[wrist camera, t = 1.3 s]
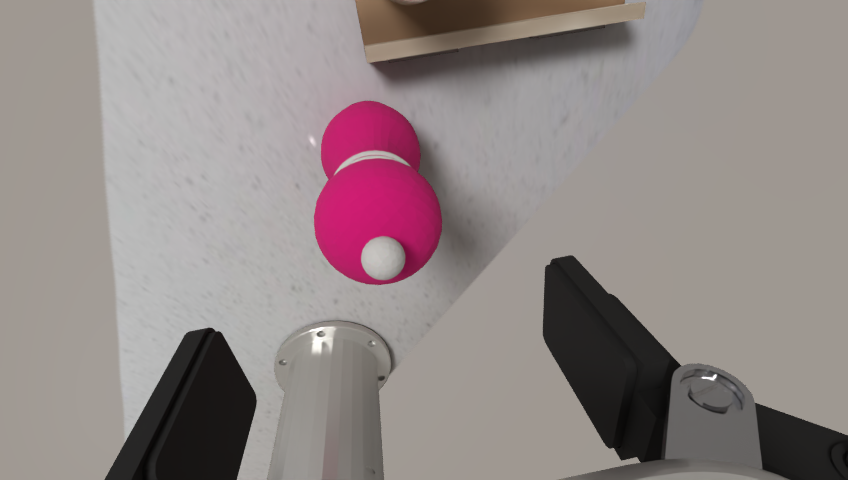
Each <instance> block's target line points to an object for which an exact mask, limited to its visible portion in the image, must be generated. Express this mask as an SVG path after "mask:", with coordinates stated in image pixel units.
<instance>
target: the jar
mask: <svg viewBox="0 0 848 480" xmlns="http://www.w3.org/2000/svg"><path fill="white" fill-rule="evenodd" d="M390 1H392V2H394V3H397V4H401V5H416V4H420V3H423V2H425V1H427V0H390Z"/></svg>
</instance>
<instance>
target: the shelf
mask: <svg viewBox="0 0 848 480" xmlns="http://www.w3.org/2000/svg"><path fill="white" fill-rule="evenodd" d="M355 2H356V7H357V12H358V17H359V23H360V28H361V33H362V38H363V43H364V49H365V54H366V59H367V62H368V63H371V62H377V61H383V60H387V61H388V62H389V63H391V62H397V61H403V60H409V59H415V58H422V57H428V56H434V55H440V54H446V53H452V52H458V48H463V47H470V46H476V45H482V44H488V43H494V42H500V41H507V40H513V39H519V38H525V37H530V38H544V37H551V36H557V35H563V34H569V33H575V32H581V31H587V30H594V29H600V28H605V24H611V23H618V22H624V21H630V20H636V19H642V18H644V14H645V6H646V2H640V3H630V4H624V3H625V0H427V1H425V2H423V3H420V4H416V5H401V4H397V3H394V2H392V1H390V0H355Z"/></svg>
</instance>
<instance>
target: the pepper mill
mask: <svg viewBox="0 0 848 480" xmlns="http://www.w3.org/2000/svg"><path fill="white" fill-rule="evenodd" d="M420 156H421V155H420V147H419V142H418V139H417V135H416V133H415V131H414V129H413V127H412V126H411V124H410V123H409V121H408V120H407V119H406V118H405V117H404V116H403V115H402V114H400V113H399V112H398V111H396V110H394V109H393V108H391V107H388V106H386V105H384V104H382V103H379V102H375V101H362V102H358V103H355V104H352V105H350V106H349V107H347V108H346V109H344V110H342V111H341V112H340V113H339V114H337V115H336V116H335V117H334V118H333V119H332V120H331V122H330V123H329V125H328V126H327V128H326V130H325V133H324V135H323V139H322V144H321V160H322V165H323V168H324V171H325V174H326V176H327V177H328V179H329V180H328V181H327V183H326V185H325V186H324V188H323V190H322V192H321V193H320V195H319V198H318V200H317V203H316V209H315V214H314V227H315V235H316V239H317V242H318V245H319V248H320V249H321V251H322V253H323V255H324V256H325V257H326V259H327V260H328V262H329V263H330V264H331V265H332V266H333V267H334V268H335V269H336V270H338V271H339V272H341V273H342V274H344V275H345V276H347V277H348V278H351V279H353V280H355V281H357V282H361V283H365V284H374V285H382V284H390V283H394V282H398V281H401V280H403V279H405V278H407V277H409V276H411V275H413V274H414V273H416V272H417V271H418V270H419V269H421V268H422V267H423V266H424V265H425V264H426V263H427V262H428V260H429V259H430V258H431V256H432V255H433V253H434V251H435V250H436V248H437V246H438V242H439V239H440V235H441V231H442V217H441V210H440V205H439V202H438V198H437V196H436V194H435V192H434V190H433V189H432V187H431V185H430V184H429V183H428V182H427V180H426V179H425V178H424V177H423V176H421V175H420V174H419V173H418V169H419V165H420Z"/></svg>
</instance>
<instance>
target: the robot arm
mask: <svg viewBox="0 0 848 480" xmlns="http://www.w3.org/2000/svg"><path fill="white" fill-rule="evenodd" d="M543 337H544V340H545V343H546V344H547V346H548V348H549V350H550V351H551V353H552V355H553V357H554V358H555V360H556V362H557V363H558V365H559V367H560V368H561V370H562V372H563V373H564V375H565V377H566V379H567V381H568V382H569V384H570V386H571V387H572V389H573V391H574V392H575V394H576V396H577V398H578V399H579V401H580V403H581V404H582V406H583V408H584V409H585V411H586V413H587V415H588V416H589V418H590V420H591V421H592V423H593V425H594V427H595V428H596V430H597V432H598V433H599V435H600V437H601V439H602V440H603V442H604V443H605V445H606V446H607V447H608V448H614V449H615V451H616V452H617V454H618V456H619V457H620V459H621V460H626V459H630V458H634V457H637V458H638V459H639V461H640V462H641V463H637V464H630V465H625V466H620V467H615V468H610V469H606V470H601V471H596V472H592V473H587V474H582V475H578V476H573V477H569V478H564V479H559V480H848V435H845V434H842V433H839V432H836V431H834V430H831V429H828V428H825V427H822V426H819V425H817V424H813V423H811V422H808V421H805V420H802V419H800V418H797V417H794V416H791V415H788V414H785V413H783V412H780V411H777V410H774V409H771V408H768V407H766V406H763V405H760V404H757V403H755V402H754V399H753V396H752V394H751V392H750V391H749V390H748V389H747V387H746V386H745V385H744V384H743V383H742V382H741V381H739V380H738V379H737V378H736V377H734V376H732V375H731V374H729V373H727V372H725V371H724V370H721V369H719V368H716V367H713V366H710V365H704V364H687V365H684V366H681V365H680V364H679V363H678V362H677V361H676V360H675V359H674V358H673V357H672V356H671V355H670V353H669V352H668V351H667V350H666V349H665V348H664V347H663V346H662V345H661V344H660V343H659V342H658V341H657V340H656V339H655V338H654V337H653V335H652V334H651V333H650V332H649V331H648V330H647V329H646V328H645V327H644V326H643V325H642V324H641V323H640V322H639V321H638V320H637V319H636V317H635V316H634V315H633V314H632V313H631V312H630V311H629V310H628V309H627V308H626V307H625V306H624V305H623V304H622V303H621V302H620V300H619V299H618V298H616V297H615V296H614V295H612V294H608V293H607V292H606V291H605V290H604V289H603V287H602V286H601V285H600V284H599V283H598V282H597V281H596V280H595V279H594V278H593V277H592V276H591V274H589V272H588V271H587V270H586V269H585V268H584V267H583V266H582V265H581V264H580V262H579V261H578V260H577V259H576V258H575V257H574V256H565V257H560V258H555V259H552V260H551V263H550V265H547V266H546V267H545V287H544V314H543ZM390 369H391V359H390V353H389V349H388V347H387V346H386V344H385V342H384V341H383V340H382V339H381V338H380V336H379V335H377V334H376V333H375V332H373V331H372V330H370V329H368V328H366V327H364V326H362V325H358V324H355V323H351V322H343V321H328V322H322V323H316V324H313V325H310V326H307V327H305V328H303V329H301V330H299V331H297V332H295V333H294V334H293V335H291V336H290V337H289V338H288V339H287V340H286V341H285V342H284V343H283V344H282V346H281V348H280V350H279V351H278V354H277V357H276V361H275V368H274V372H275V377H276V380H277V382H278V384H279V386H280V387H281V389H282V390H283V391H284V397H283V402H282V407H281V412H280V417H279V422H278V427H277V432H276V437H275V442H274V447H273V452H272V457H271V461H270V466H269V471H268V476H267V480H384V473H383V456H382V440H381V423H380V406H379V390H380V389H381V388H382V386H383V385H384V384H385V382H386V381H387V379H388V376H389V374H390ZM256 402H257V400H256V394H255V392H254V390H253V388H252V387H251V385H250V383H249V381H248V379H247V378H246V376H245V374H244V372H243V370H242V369H241V367H240V365H239V363H238V361H237V360H236V358H235V356H234V354H233V352H232V351H231V349H230V347H229V345H228V343H227V342H226V340H225V338H224V336H223V335H222V333H221V332H219V331H217V332H216V331H215V330H214V329H213V328H205V329H200V330H195V331H190V332H188V333H186V335H185V336H184V338H183V339H182V341H181V343H180V345H179V347H178V348H177V350H176V352H175V354H174V356H173V357H172V359H171V361H170V363H169V365H168V366H167V368H166V370H165V372H164V374H163V375H162V377H161V379H160V381H159V383H158V384H157V386H156V388H155V390H154V392H153V393H152V395H151V397H150V399H149V401H148V402H147V404H146V406H145V408H144V410H143V411H142V413H141V415H140V417H139V419H138V420H137V422H136V424H135V426H134V428H133V429H132V431H131V433H130V435H129V437H128V438H127V440H126V442H125V444H124V446H123V447H122V449H121V451H120V453H119V455H118V456H117V458H116V460H115V462H114V464H113V466H112V467H111V469H110V471H109V473H108V475H107V476H106V478H105V480H237V476H238V472H239V469H240V465H241V461H242V457H243V454H244V450H245V446H246V442H247V439H248V435H249V431H250V427H251V424H252V420H253V416H254V412H255V409H256Z"/></svg>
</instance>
